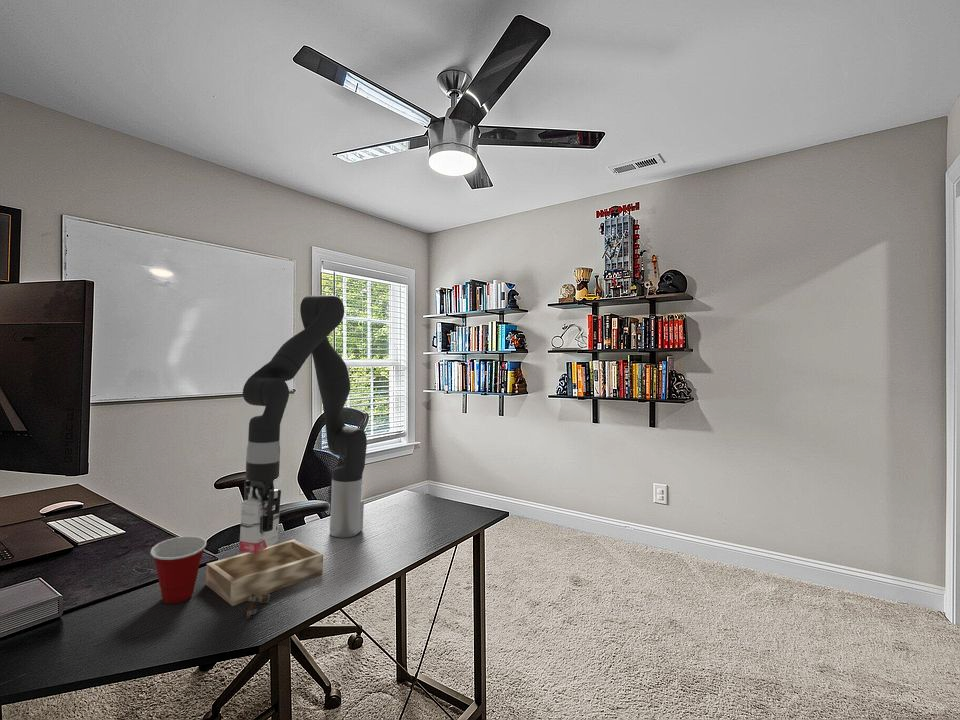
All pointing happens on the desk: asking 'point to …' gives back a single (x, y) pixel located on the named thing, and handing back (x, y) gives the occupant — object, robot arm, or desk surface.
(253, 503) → the ink box
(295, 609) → the desk surface
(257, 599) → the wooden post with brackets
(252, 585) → the trough
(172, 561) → the plastic cup
